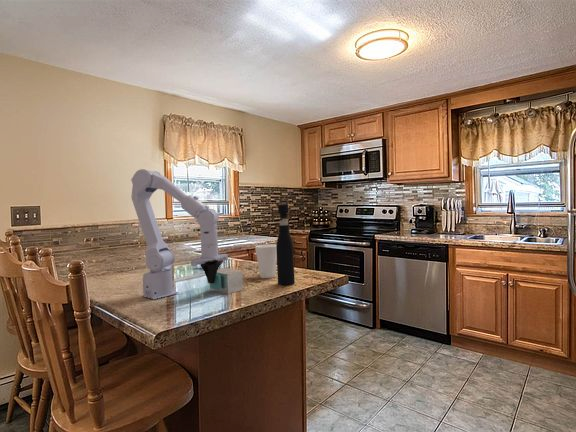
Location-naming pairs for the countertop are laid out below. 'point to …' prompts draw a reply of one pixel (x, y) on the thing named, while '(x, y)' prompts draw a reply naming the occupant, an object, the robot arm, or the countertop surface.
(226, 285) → the block
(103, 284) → the countertop surface
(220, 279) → the shaft
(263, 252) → the foam cup
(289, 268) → the wine bottle
